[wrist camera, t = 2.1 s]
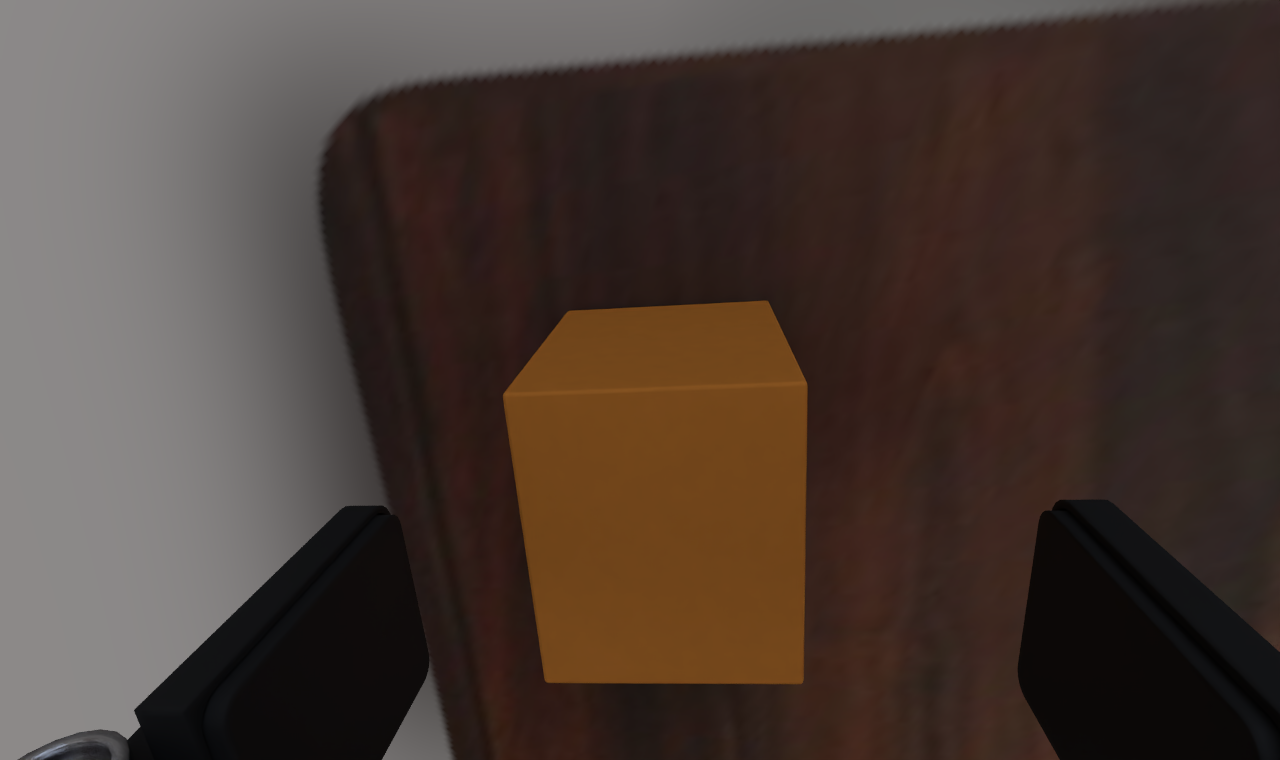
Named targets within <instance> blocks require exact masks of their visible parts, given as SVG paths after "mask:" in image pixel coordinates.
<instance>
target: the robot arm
mask: <svg viewBox="0 0 1280 760" xmlns="http://www.w3.org/2000/svg"><path fill="white" fill-rule="evenodd" d="M428 668H429V652H428V648H427V643H426V638H425V634H424V629H423V625H422V620H421V615H420V611H419V606H418V601H417V597H416V592H415V588H414V583H413V578H412V574H411V569H410V564H409V560H408V555H407V551H406V546H405V541H404V537H403V532H402V528H401V524H400V521H399V519H398V517H397V516H395V515H390V512H389V511H388V510H387V508H386V507H384V506H345V507H344V508H342V509H341V510H340V511H339V512H338V513H337V514H336V515H335V516H334V517H333V518H332V519H331V520H330V521H329V522H328V523H326V525H324V527H322V528H321V529H320V530H319V531H318V532H317V533H316V534H315V535H314V536H313V537H312V538H311V539H310V540H309V541H308V542H307V543H306V544H305V545H304V546H303V547H302V548H301V549H300V550H299V551H298V552H297V553H296V554H295V555H293V557H291V558H290V559H289V560H288V561H287V562H286V563H285V564H284V565H283V566H282V567H281V568H280V569H279V570H278V571H277V572H276V573H275V574H274V575H273V576H272V577H271V578H270V579H269V580H268V581H267V582H266V583H265V584H264V585H263V586H262V587H260V589H258V590H257V591H256V592H255V593H254V594H253V595H252V596H251V597H250V598H249V599H248V600H247V601H246V602H245V603H244V604H243V605H242V606H241V607H240V608H239V609H238V610H237V611H236V612H235V613H234V614H233V615H232V616H231V617H230V618H229V619H228V620H226V622H225V623H223V624H222V625H221V626H220V627H219V628H218V629H217V630H216V631H215V632H214V633H213V634H212V635H211V636H210V637H209V638H208V639H207V640H206V641H205V642H204V643H203V644H202V645H201V646H200V647H199V648H198V649H197V650H196V651H195V652H193V653H192V654H191V655H190V656H189V658H187V659H186V660H185V661H184V662H183V663H182V664H181V665H180V666H179V667H178V668H177V669H176V670H175V671H174V672H173V673H172V674H171V675H170V676H169V677H168V678H167V679H166V680H165V681H164V682H163V683H162V684H160V685H159V687H157V688H156V689H155V690H154V691H153V692H152V693H151V694H150V695H149V696H148V697H147V698H146V699H145V700H144V701H143V702H142V703H141V704H140V705H139V706H138V707H137V708H136V709H135V710H134V711H135V714H136V716H137V719H138V721H139V724H140V726H141V727H140V728H139V729H138V730H137V731H136V732H135V733H134V734H133V735H132V736H131V737H130V738H129V739H128V740H127V739H126V738H125V737H123V736H122V735H120V734H119V733H118V732H115V731H108V730H94V731H87V732H80V733H76V734H74V735H70V736H68V737H64V738H61V739H58V740H55V741H53V742H51V743H49V744H47V745H44V746H42V747H40V748H38V749H36V750H34V751H32V752H30V753H28V754H26V755H25V756H23V757H22V758H20V759H18V760H382V758H383V756H384V755H385V753H386V751H387V749H388V747H389V746H390V744H391V741H392V740H393V738H394V736H395V734H396V732H397V731H398V729H399V727H400V725H401V723H402V721H403V720H404V718H405V716H406V714H407V712H408V711H409V709H410V707H411V705H412V703H413V701H414V699H415V697H416V696H417V694H418V692H419V690H420V688H421V687H422V685H423V683H424V681H425V679H426V676H427V672H428ZM1018 678H1019V683H1020V687H1021V690H1022V693H1023V695H1024V697H1025V699H1026V700H1027V702H1028V704H1029V706H1030V708H1031V709H1032V711H1033V713H1034V715H1035V716H1036V718H1037V720H1038V722H1039V724H1040V725H1041V727H1042V729H1043V731H1044V732H1045V734H1046V736H1047V738H1048V739H1049V741H1050V743H1051V745H1052V747H1053V748H1054V750H1055V752H1056V754H1057V755H1058V757H1059V759H1060V760H1280V652H1279V651H1278V650H1277V649H1275V648H1274V647H1273V646H1272V645H1271V644H1270V643H1269V642H1268V641H1266V640H1265V639H1264V638H1263V637H1262V636H1261V635H1260V634H1259V633H1257V632H1256V631H1255V630H1254V629H1253V628H1252V627H1251V626H1250V625H1249V624H1247V623H1246V622H1245V621H1244V620H1243V619H1242V618H1241V617H1240V616H1238V615H1237V614H1236V613H1235V612H1234V611H1233V610H1232V609H1231V608H1229V607H1228V606H1227V605H1226V604H1225V603H1224V602H1223V601H1222V600H1221V599H1219V598H1218V597H1217V596H1216V595H1215V594H1214V593H1213V592H1212V591H1210V590H1209V589H1208V588H1207V587H1206V586H1205V585H1204V584H1203V583H1201V582H1200V581H1199V580H1198V579H1197V578H1196V577H1195V576H1194V575H1193V574H1191V573H1190V572H1189V571H1188V570H1187V569H1186V568H1185V567H1184V566H1182V565H1181V564H1180V563H1179V562H1178V561H1177V560H1176V559H1175V558H1173V557H1172V556H1171V555H1170V554H1169V553H1168V552H1167V551H1166V550H1165V549H1163V548H1162V547H1161V546H1160V545H1159V544H1158V543H1157V542H1156V541H1154V540H1153V539H1152V538H1151V537H1150V536H1149V535H1148V534H1147V533H1146V532H1144V531H1143V530H1142V529H1141V528H1140V527H1139V526H1138V525H1137V524H1135V523H1134V522H1133V521H1132V520H1131V519H1130V518H1129V517H1128V516H1126V515H1125V514H1124V513H1123V512H1122V511H1121V510H1120V509H1119V508H1118V507H1116V506H1115V505H1114V504H1113V503H1111V502H1110V501H1108V500H1059V501H1058V502H1056V503H1055V505H1054V507H1053V509H1052V511H1044V512H1043V513H1042V514H1041V516H1040V519H1039V524H1038V531H1037V538H1036V545H1035V552H1034V559H1033V566H1032V572H1031V579H1030V586H1029V593H1028V600H1027V607H1026V614H1025V620H1024V627H1023V634H1022V641H1021V648H1020V655H1019V662H1018Z"/></svg>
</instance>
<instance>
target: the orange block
mask: <svg viewBox="0 0 1280 760" xmlns="http://www.w3.org/2000/svg"><path fill="white" fill-rule="evenodd" d="M807 398H808V384H807V382H806V380H805V378H804V376H803V374H802V372H801V370H800V367H799V365H798V363H797V361H796V359H795V357H794V355H793V353H792V351H791V348H790V346H789V344H788V342H787V340H786V338H785V336H784V334H783V332H782V329H781V327H780V325H779V323H778V321H777V319H776V317H775V315H774V313H773V310H772V308H771V306H770V304H769V302H768V301H750V302H731V303H711V304H692V305H672V306H653V307H633V308H614V309H594V310H575V311H568V312H567V313H566V314H565V316H564V317H563V318H562V319H561V321H560V322H559V323H558V324H557V326H556V327H555V328H554V330H553V331H552V332H551V333H550V335H549V336H548V337H547V339H546V340H545V341H544V342H543V344H542V345H541V346H540V348H539V349H538V350H537V351H536V353H535V354H534V355H533V356H532V358H531V359H530V360H529V362H528V363H527V364H526V365H525V367H524V368H523V369H522V371H521V372H520V373H519V374H518V376H517V377H516V378H515V380H514V381H513V382H512V383H511V385H510V386H509V387H508V388H507V390H506V391H505V392H504V394H503V402H504V409H505V416H506V422H507V429H508V436H509V443H510V449H511V456H512V463H513V470H514V476H515V483H516V490H517V497H518V503H519V510H520V517H521V524H522V530H523V537H524V544H525V551H526V557H527V564H528V571H529V578H530V584H531V591H532V598H533V605H534V611H535V618H536V625H537V632H538V638H539V645H540V652H541V659H542V665H543V672H544V679H545V681H546V682H547V683H657V684H802V683H803V680H804V616H805V543H806V470H807Z"/></svg>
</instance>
